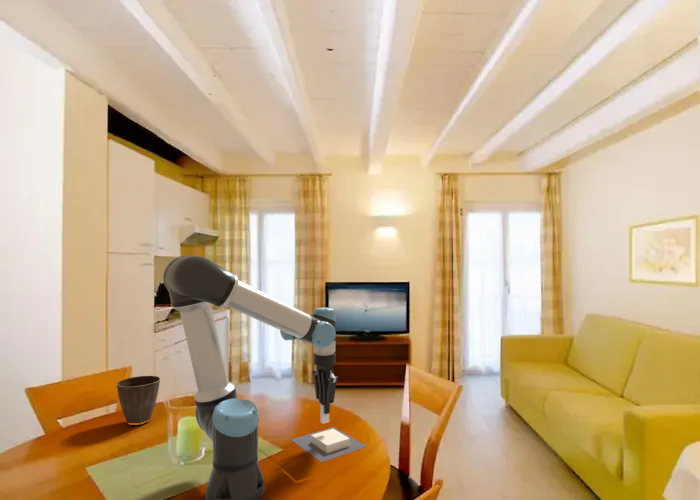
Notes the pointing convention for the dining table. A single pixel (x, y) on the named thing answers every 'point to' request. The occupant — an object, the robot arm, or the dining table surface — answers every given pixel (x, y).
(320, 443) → the tile
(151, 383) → the plant pot
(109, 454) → the dining table surface
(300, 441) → the mat
